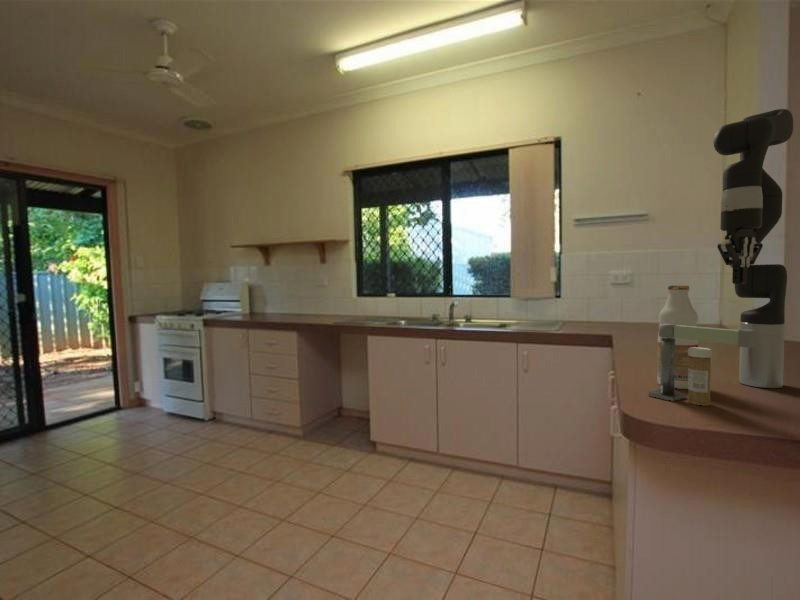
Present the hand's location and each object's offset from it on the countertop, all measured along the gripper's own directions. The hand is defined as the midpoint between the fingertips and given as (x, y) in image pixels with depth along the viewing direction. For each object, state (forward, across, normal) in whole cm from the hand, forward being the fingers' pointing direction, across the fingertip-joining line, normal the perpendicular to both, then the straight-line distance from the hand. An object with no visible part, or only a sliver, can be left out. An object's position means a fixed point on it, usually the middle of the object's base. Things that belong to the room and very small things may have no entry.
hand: (739, 283), depth 98 cm
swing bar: (+14, +8, -3) cm, 16 cm away
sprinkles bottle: (+29, +7, -4) cm, 30 cm away
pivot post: (+29, +9, -11) cm, 32 cm away
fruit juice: (+29, -4, -18) cm, 34 cm away
